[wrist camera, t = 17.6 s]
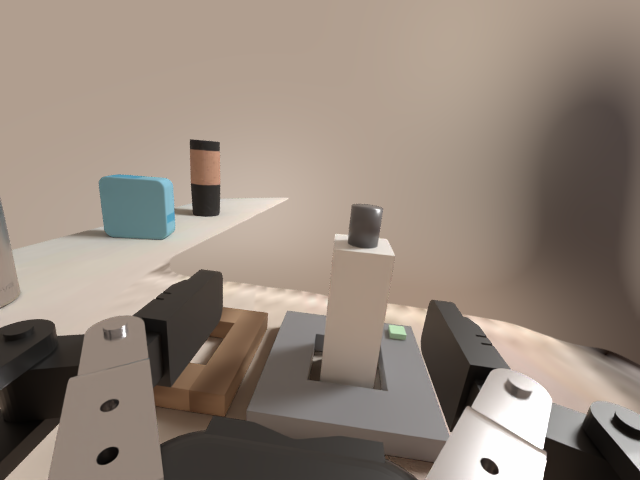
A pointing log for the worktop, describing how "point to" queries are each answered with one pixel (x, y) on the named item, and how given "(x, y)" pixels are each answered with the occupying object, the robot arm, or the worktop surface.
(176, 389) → the brown square frame
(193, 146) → the travel mug
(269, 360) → the port plate
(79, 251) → the worktop surface
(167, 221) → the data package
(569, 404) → the worktop surface
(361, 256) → the plug
